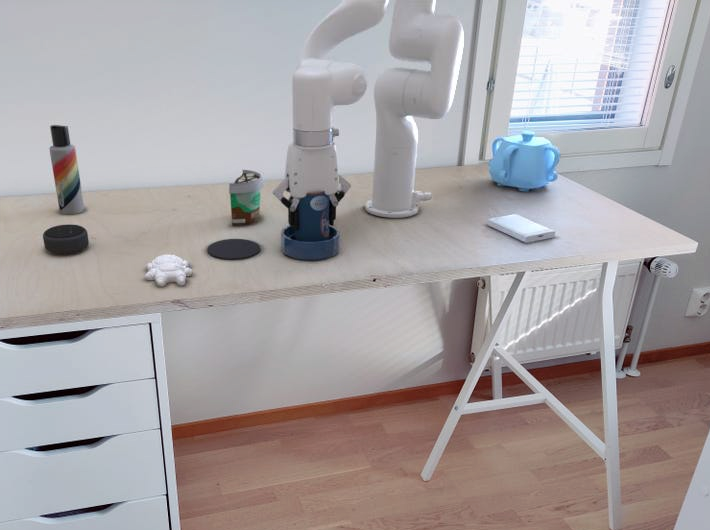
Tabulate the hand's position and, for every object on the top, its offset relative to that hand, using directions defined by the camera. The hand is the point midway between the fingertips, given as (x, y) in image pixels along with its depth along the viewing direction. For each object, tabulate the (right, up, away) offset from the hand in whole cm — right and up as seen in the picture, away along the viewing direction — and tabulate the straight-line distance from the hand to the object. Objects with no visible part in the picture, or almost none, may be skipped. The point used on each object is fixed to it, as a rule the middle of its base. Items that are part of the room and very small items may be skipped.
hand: (312, 225), depth 145 cm
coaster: (-16, -5, +3) cm, 17 cm away
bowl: (0, -5, +2) cm, 5 cm away
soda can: (0, -4, +2) cm, 5 cm away
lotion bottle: (-56, +8, +24) cm, 62 cm away
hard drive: (+46, +1, +12) cm, 48 cm away
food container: (-14, +5, +19) cm, 24 cm away
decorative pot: (+56, +19, +43) cm, 73 cm away
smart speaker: (-51, -4, +3) cm, 51 cm away
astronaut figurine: (-28, -11, -9) cm, 31 cm away
